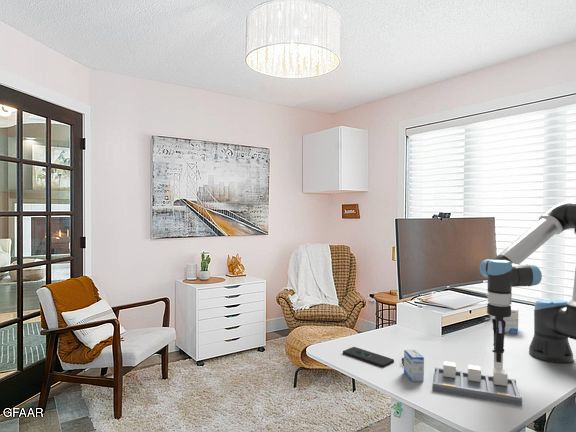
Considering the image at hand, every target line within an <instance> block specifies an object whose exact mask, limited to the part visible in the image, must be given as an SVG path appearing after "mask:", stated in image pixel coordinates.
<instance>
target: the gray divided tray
mask: <svg viewBox="0 0 576 432" xmlns="http://www.w3.org/2000/svg"><path fill="white" fill-rule="evenodd" d="M432 391H435V392H439V393H440V392H441V393H446V394H452V395H458V396H465V397H469V398H470V397H471V398H475V399H481V400H486V401H487V400H488V401H495V402H499V403H505V404H510V405H511V404H512V405H517V406H523V397H522V396H521V394H520V392H519V389H518V385H517V380H516V378H508V386H503V385H496V384H494V382H493V375H488V374H483V373H481V382H477V381H471V380H468V371H463V370H462V371H461V370H456V378H451V377H445V376H443V368H442V367H441V368H440V367H437V366H436V367H434V374H433V382H432Z"/></svg>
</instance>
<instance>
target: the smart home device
mask: <svg viewBox="0 0 576 432" xmlns="http://www.w3.org/2000/svg"><path fill="white" fill-rule="evenodd" d="M342 354H343V355H344V356H348V357H351V358H353V359H356V360H359V361H362V362H366V363H368V364H371V365H374V366H377V367H379V368H382V369H383V368H386V367H388V366H390V365H391V364H394V363H395V359H394V358H390V357H389V356H388V357H387V356H384V355H381V354H378V353H375V352H372V351H369V350H366V349H362V348H359V347H356V346H352V347H349V348H347V349H345V350H343V351H342Z"/></svg>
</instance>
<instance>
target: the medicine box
mask: <svg viewBox="0 0 576 432" xmlns="http://www.w3.org/2000/svg"><path fill="white" fill-rule="evenodd" d="M403 358H404V367H403V373H404V374H405V375H406V377H408V378H409V380H410V381H411V382H424V381H425V379H424V378H425V377H424V375H425V374H424V373H425V372H424V371H425V370H424V369H425V357H424V356H423V355H421V353H419V352H418V351H417V350H416V349H404V351H403Z"/></svg>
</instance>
